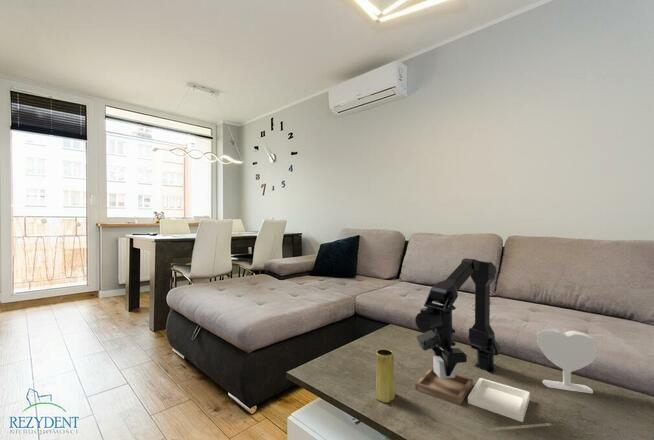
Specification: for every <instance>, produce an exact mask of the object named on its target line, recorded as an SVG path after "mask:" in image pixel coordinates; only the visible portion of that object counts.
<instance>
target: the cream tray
mask: <svg viewBox="0 0 654 440" xmlns="http://www.w3.org/2000/svg"><path fill="white" fill-rule="evenodd" d="M530 393H531V392H530V391H527V390H524V389H521V388H518V387H517V388H516V387H514V386H510V385H507V384H504V383H500V382H496V381H492V380H489V379H486V378H483V377H479V378H478V380H477V381H476V383H475V384H474V385H473V388H471V390H470V393H468V395H467V404H469V405H472V406H475V407H478V408H480V409H484V410H486V411H488V412H489V411H490V412H492V413H495V414H497V415H498V414H499V415H500V416H504V417H507V418H510V419H512V420H515V421H518V422H521V423H523V422H524V420H525V417H526V412H527V409H528V406H529V403H530V396H531V395H530Z"/></svg>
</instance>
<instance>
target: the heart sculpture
mask: <svg viewBox="0 0 654 440" xmlns="http://www.w3.org/2000/svg"><path fill="white" fill-rule="evenodd" d="M536 335H537V337H536V341H537V347H538V348H539V349H540V350H541V352H542V353H543V355H544V356H545V357H546V359H548V360H549V361H550V362H551V363H552V364H554V366H557V367H558V368H560V369H562V381H557V380H550V379H543V380H542V384H543V385H544V386H546V387H547V388H550V389H551V388H552V389H559V390H565V391H571V392H572V391H573V392H580V393H585V394H593V393H594V390H593V389H592V388H591V387H589V386H587V385H585V384H578V383H572V372H575V371H578V370H580V369H583V368H585V367H587V366H589V365H590V364H591V363H593V361H594V360H595V359H596V358H597V356H598V351H599V347H598V342H597V341H596V340H595V339H594V338H593V337H591V336H590V335H589V334H587V333H584V332H581V331H578V330H567V331H566V332H563V331H562V330H560V329H557V328H546V329H543V330H540V331H539V332H537V334H536Z"/></svg>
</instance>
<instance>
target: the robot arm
mask: <svg viewBox="0 0 654 440" xmlns="http://www.w3.org/2000/svg"><path fill="white" fill-rule="evenodd" d="M496 274H497V267H496V265H495V264H494V263H493V262H490V261H483V260H482V261H481V260H479V259H478V260H477V259H475V258H468V257H467V258H463V259H462V260H461V263H459V265H458V266H457V267H456V268H455V269H454V271H452V273H450V275H448V276H447V278H446V279H444V280H442V281H437V283H435V284H434V285H433V286H432V287H431V288H430V289H429V292H428V295H427V297H426V299H425V302H424V304H423V306H424V307H425V308H424V307H423V308H420V312H419V313H417V314H416V316H415V319H414V320H415V325H416V326H417V329H419V330H420V331H421V332H423V333H421V334H419V335H417V336H416V337H415V338H416V340H417V342H418V346H419V347H420V348H421V349H422V351H429V350H432V351H433V354H434V356H440V357H441V358H442V359H443V360H444V366H445V373H446V376H450V375H451V373H452V371H453V369H454V367H455V368H456V366H457V364H461V363H462V364H463V363H464V364H465V363H467V362H468V355H467V354H466V353H465V352H464V351H463V350H462V349H460V348H459V347H456V342H455V341H454V340H453V337H454V336H453V335H454V334H455V333H456V329H455V328H453V311H454V310H456V309H457V308H456V306H454V303H455V301H456V300H457V299H458V297H459V290H460V289H461V287H462V286H463V285H464V284H465V283H466V282H467V281H468V279H469V278H471V280H472V281H473V283H474V285H475V286H474V324H473V325H472V326H471V327H469V329H468V341H469V344H470V349H473V350H475V351H476V362H475V364H474V365H473V366H474V367H475V368H479V369H480V370H484V371H486V372H489V373H494V372H495V370H496V369H497V364H495V356H499V355H500V352H501V346H500V345H499V343H498V342H497V340H496V335H495V334H496V333H495V332H494V329H493V328H492V327H491V323H490V321H491V319H490V318H491V317H490V316H491V314H490V311H491V309H490V308H491V302H490V300H491V295H490V294H491V289H490V288H491V285H492V283H494V280H495V279H496ZM454 346H455V347H454Z"/></svg>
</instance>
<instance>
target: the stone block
mask: <svg viewBox="0 0 654 440" xmlns="http://www.w3.org/2000/svg"><path fill="white" fill-rule="evenodd" d="M432 360H433V361H432V362H433V363H432V365H433V371H434V372H435V373H436V375H437V376H438V377H439V378H440V379H443V378H455V374H456V366H455V367H454V369H453V371H452V373H451V375H450V376H446V373H445V366H444V360H443V359H442V358H441V357H440V356H435V355H433V356H432Z"/></svg>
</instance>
